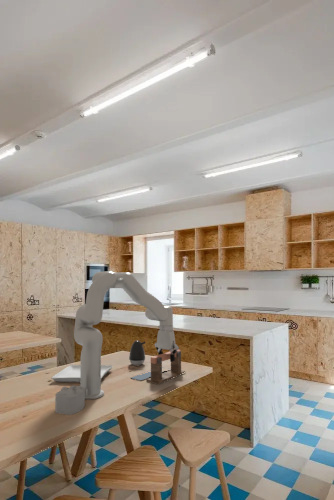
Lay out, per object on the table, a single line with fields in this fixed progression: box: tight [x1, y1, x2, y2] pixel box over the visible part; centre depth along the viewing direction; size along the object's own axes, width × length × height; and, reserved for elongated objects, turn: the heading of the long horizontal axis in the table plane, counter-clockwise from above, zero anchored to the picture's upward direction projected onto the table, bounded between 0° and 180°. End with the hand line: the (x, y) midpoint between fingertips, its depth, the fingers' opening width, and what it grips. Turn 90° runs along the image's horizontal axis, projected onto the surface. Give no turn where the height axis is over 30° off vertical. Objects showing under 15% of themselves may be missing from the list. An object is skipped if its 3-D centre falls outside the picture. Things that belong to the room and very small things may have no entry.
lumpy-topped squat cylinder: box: [54, 384, 86, 416], centre depth 146 cm, size 10×13×9 cm
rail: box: [150, 349, 182, 364], centre depth 189 cm, size 24×3×3 cm, turn 143°
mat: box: [130, 371, 151, 382], centre depth 195 cm, size 27×8×1 cm, turn 143°
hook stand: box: [146, 350, 186, 385], centre depth 189 cm, size 25×8×13 cm, turn 143°
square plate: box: [51, 364, 114, 383], centre depth 191 cm, size 27×27×4 cm
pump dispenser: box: [128, 340, 146, 366], centre depth 217 cm, size 10×10×15 cm
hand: (166, 360), depth 189 cm, fingers open, 7 cm apart
